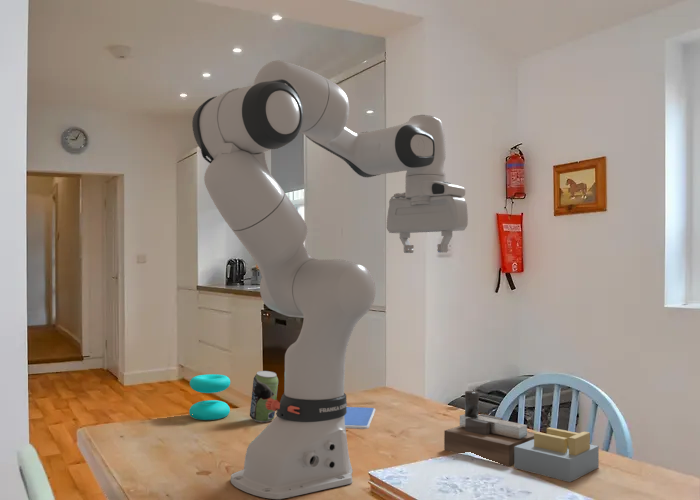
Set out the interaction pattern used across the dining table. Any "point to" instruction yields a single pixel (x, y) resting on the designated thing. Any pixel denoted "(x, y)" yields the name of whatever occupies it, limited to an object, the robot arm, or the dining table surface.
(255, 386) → the beverage can
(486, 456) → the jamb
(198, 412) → the donuts
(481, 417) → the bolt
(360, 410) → the tablet computer
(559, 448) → the stacked blocks
